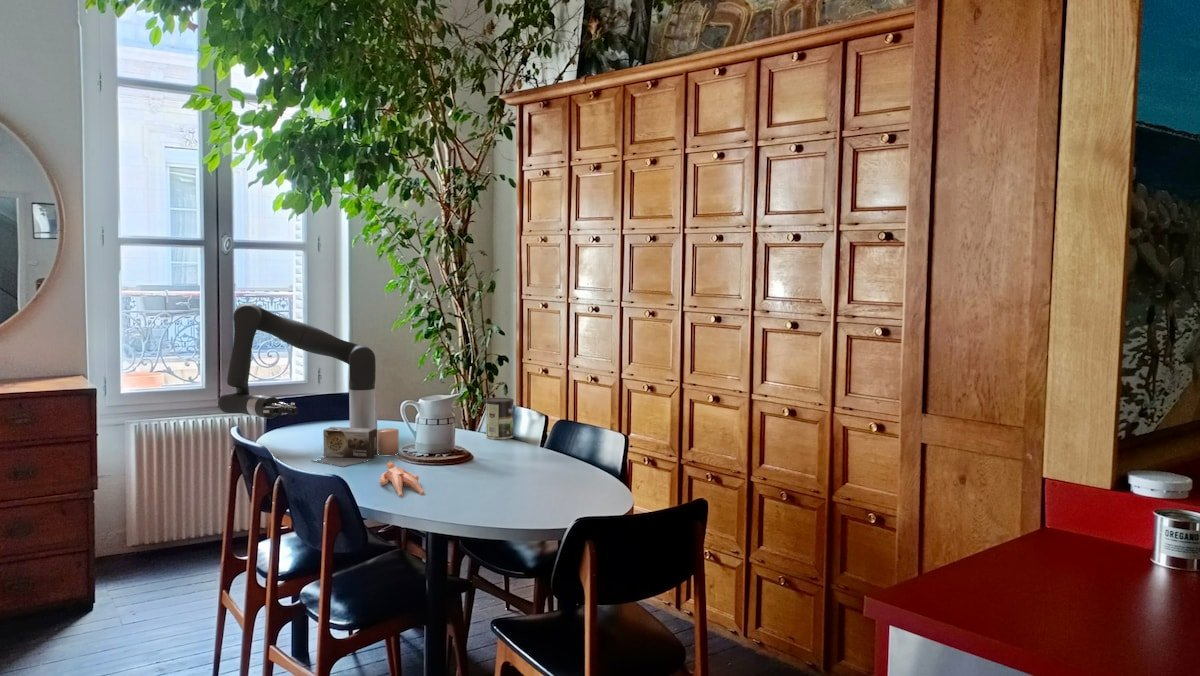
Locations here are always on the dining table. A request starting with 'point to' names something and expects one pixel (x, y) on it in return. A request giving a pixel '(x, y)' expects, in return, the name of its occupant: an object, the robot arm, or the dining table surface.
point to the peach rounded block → (387, 441)
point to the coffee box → (350, 442)
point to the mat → (341, 461)
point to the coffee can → (499, 418)
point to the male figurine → (400, 479)
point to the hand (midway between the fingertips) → (296, 411)
